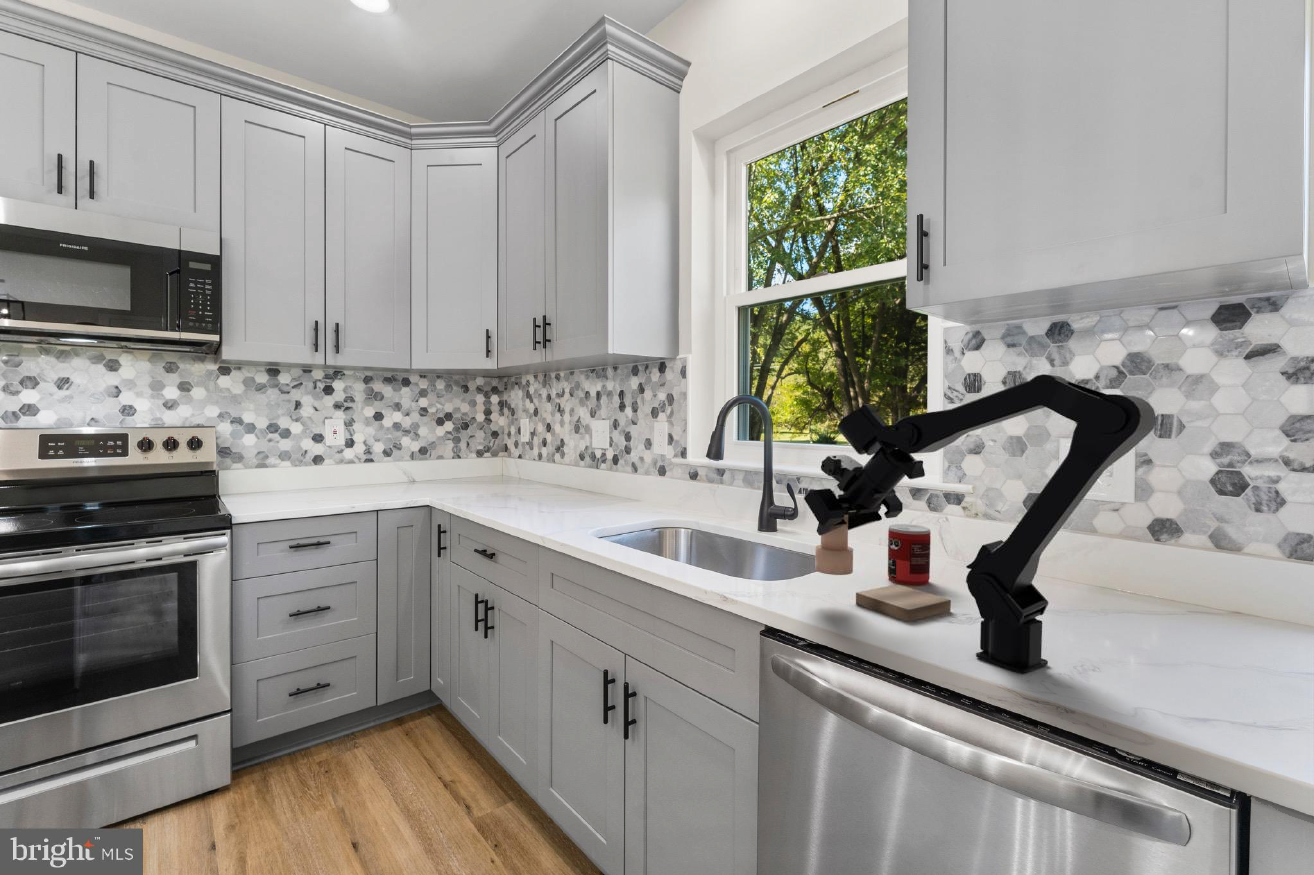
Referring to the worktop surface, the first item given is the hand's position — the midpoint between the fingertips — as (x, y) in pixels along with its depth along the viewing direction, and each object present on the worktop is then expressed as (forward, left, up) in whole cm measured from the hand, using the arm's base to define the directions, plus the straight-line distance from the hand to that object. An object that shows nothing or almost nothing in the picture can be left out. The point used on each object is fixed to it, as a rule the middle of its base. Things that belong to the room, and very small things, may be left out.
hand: (828, 532), depth 108 cm
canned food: (+3, -25, -13) cm, 29 cm away
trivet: (-8, -9, -13) cm, 18 cm away
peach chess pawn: (-1, 0, -7) cm, 7 cm away
